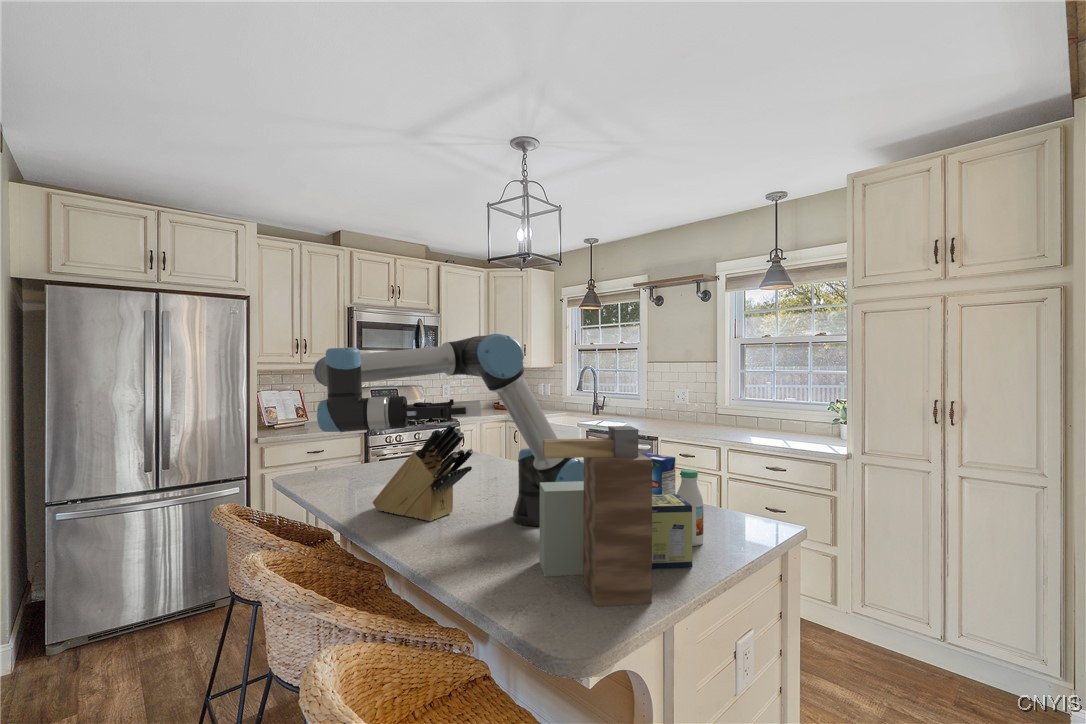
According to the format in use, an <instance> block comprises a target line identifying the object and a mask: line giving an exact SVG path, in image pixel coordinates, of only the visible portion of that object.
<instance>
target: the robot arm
mask: <svg viewBox="0 0 1086 724" xmlns="http://www.w3.org/2000/svg"><path fill="white" fill-rule="evenodd" d="M524 359H525V355H524V351H523V349H522V346H521V345H520V343H519V341H517V340H516V339H515V338H513V337H512V336H510V335H506V334H502V333H491V334H489V335H476V336H475V335H474V336H472V337H467V338H463V339H459V340H454V341H448V342H447V341H446V342H443V344H442V345H441V346H430V347H420V348H409V349H408V348H407V349H398V350H386V351H376V352H375V351H373V352H366V353H364V352H363V353H360V349H359V348H357V347H333V348H332V347H331V348H328V349H326V351H325V356H324V357H322V358H320V359H318V361H316V363H315V364H314V367H313V372H312V373H313V376H314V378H315V380H316V381H317V382H318V383H319V384H321V385H323V386H324V387H326V388H327V395H326V396H327V398H326V399H324V400H323V399H322V400H321V401H319V403H318V405H317V413H316V419H317V424H318V428H319V429H320V430H321V431H322V432H324V433H335V432H336V433H346V432H359V431H371V430H372V431H373V430H375V432H376V433H379V432H380V430H387V429H389V427H390V429H393V430H394V429H395V430H396V429H405V428H408V427H407V426H408V424H409V420H414V421H421V420H429V419H444V420H446V422H447V421H449V422H450V421H451V422H452V418H463V417H464V418H465V417H466V418H467V417H479V416H480V417H482V407H481V406H482V405H481V400H480V399H479V400H462V401H454V399H453V398H452V399H451V398H449V401H447V402H446V401H445V402H433V403H432V402H418V401H417V402H414V403H413V405H408V399H407V397H406V396H405V395H397V396H394V395H393V396H390V397H389V398H388V397H387V396H374V397H372V396H371V397H363V383H369V382H377V381H386V380H393V379H400V378H401V379H402V378H410V377H417V376H421V377H422V376H427V375H428V376H430V375H435V374H436V375H437V374H445V375H446V376H448V377H449V376H461V375H462V376H471V377H481V379H482V380H483V382H484V384H485V386H486V387H487V389H488V390H489V391H490V392H494V393H496V394H497V395H498V397H499V398H500V401H501V403H502V404H503V406H504V407H505V409H506V412H508V414H509V415H510V418H511V419H512V421H513V423H514V424H515V426H516V428H517V429H518V431H519V433H520V436H521V437H522V438H523V440H524V441H525V443H526V446H528V447H524V448H521V449H520V450H519V452H518V457H517V458H518V460H517V462H518V495H517V498H516V502H515V505H514V507H513V511H512V519H513V521H514V522H515V521H516V522H518V523H517V524H519V523H520V524H519V525H522V524H524V525H523V526H528V525H530V526H531V527H540V482H574V481H584V461H582V460H581V459H580V458H545V457H544V456H543V439H559V438H558V437H557V435H556V433H555V431H554V430H553V428H552V426H551V423H550V422H549V420H548V419H547V417H546V416H545V413H544V411H543V409H542V407H541V406H540V405H539V403H538V401H537V399H536V397H535V395H534V393H533V392H532V389H531V388H530V387H529V385H528V382H527V381H526V379H525V377H524V376H525V374H526V368H525V366H524ZM516 522H515V523H516Z"/></svg>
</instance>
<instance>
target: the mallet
mask: <svg viewBox="0 0 1086 724" xmlns="http://www.w3.org/2000/svg"><path fill="white" fill-rule="evenodd" d="M607 431H608V434H607V436H608V437H599V438H598V437H595V438H558V439H543V456H544V457H545V458H575V459H580V458H584V457H615V458H629V457H638V452H639V428H636V427H634V426H631V425H608V429H607Z"/></svg>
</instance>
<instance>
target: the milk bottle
mask: <svg viewBox="0 0 1086 724" xmlns="http://www.w3.org/2000/svg"><path fill="white" fill-rule="evenodd" d="M698 474H699V472H698V471H697V470H694V469H691V468H690V469H689V468H688V469H685V468H684V469H681V470H680V478H681V481H680V485H679V488H678V490H677V492H676V493H675V494H676V495H679V496H680V497H681V498H682V499H684V500H685V501H686V502H688V503H689V504H690V505H692V547H694V546H695V547H697V546H701V545H703V542H704V499H703V496H702V493H701V490H700V489H699V488H700V487H699V486H698V481H697V480H698V478H699V477H698Z"/></svg>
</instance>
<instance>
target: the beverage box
mask: <svg viewBox="0 0 1086 724" xmlns="http://www.w3.org/2000/svg"><path fill="white" fill-rule="evenodd" d="M640 453H641V452H640ZM641 454H643V455H644V456H646V457H648V458H650V459H652V495H674V494H676V471H677V470H676V463H677V462H676V460H677V459H676V457H674V456H670V455H669V456H668V455H662V454H658V453H652V452H642V453H641Z"/></svg>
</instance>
